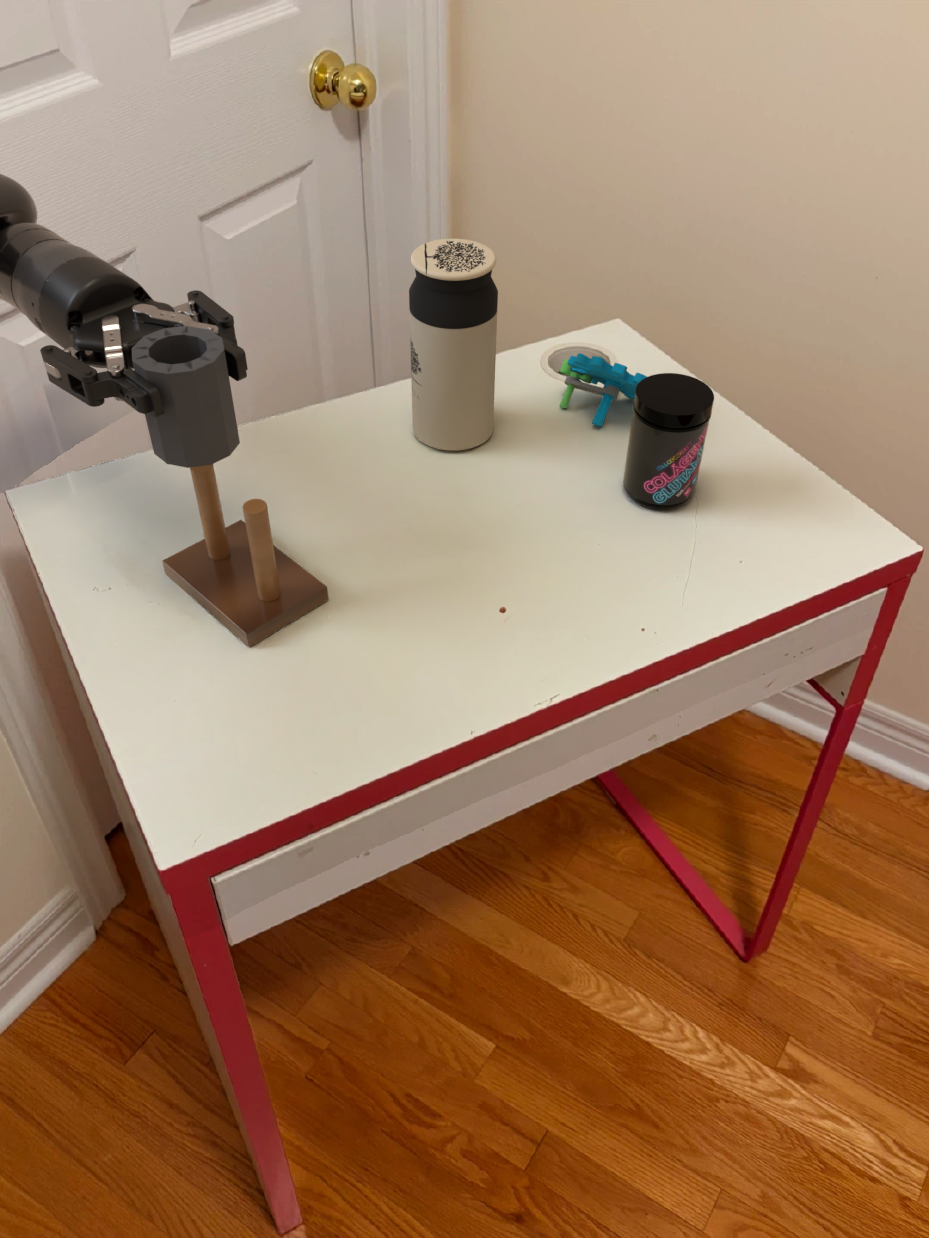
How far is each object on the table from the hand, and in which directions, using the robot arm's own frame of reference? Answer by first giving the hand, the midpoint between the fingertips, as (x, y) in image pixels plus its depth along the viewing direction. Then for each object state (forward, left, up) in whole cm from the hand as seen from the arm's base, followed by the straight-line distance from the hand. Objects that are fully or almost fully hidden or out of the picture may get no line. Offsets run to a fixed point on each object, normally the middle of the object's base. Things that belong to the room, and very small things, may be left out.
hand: (200, 385), depth 75 cm
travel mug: (+26, -11, -19) cm, 34 cm away
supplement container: (+22, -32, -19) cm, 43 cm away
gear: (+34, -25, -19) cm, 47 cm away
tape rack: (-1, -1, -19) cm, 19 cm away
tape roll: (+1, +2, -6) cm, 6 cm away
